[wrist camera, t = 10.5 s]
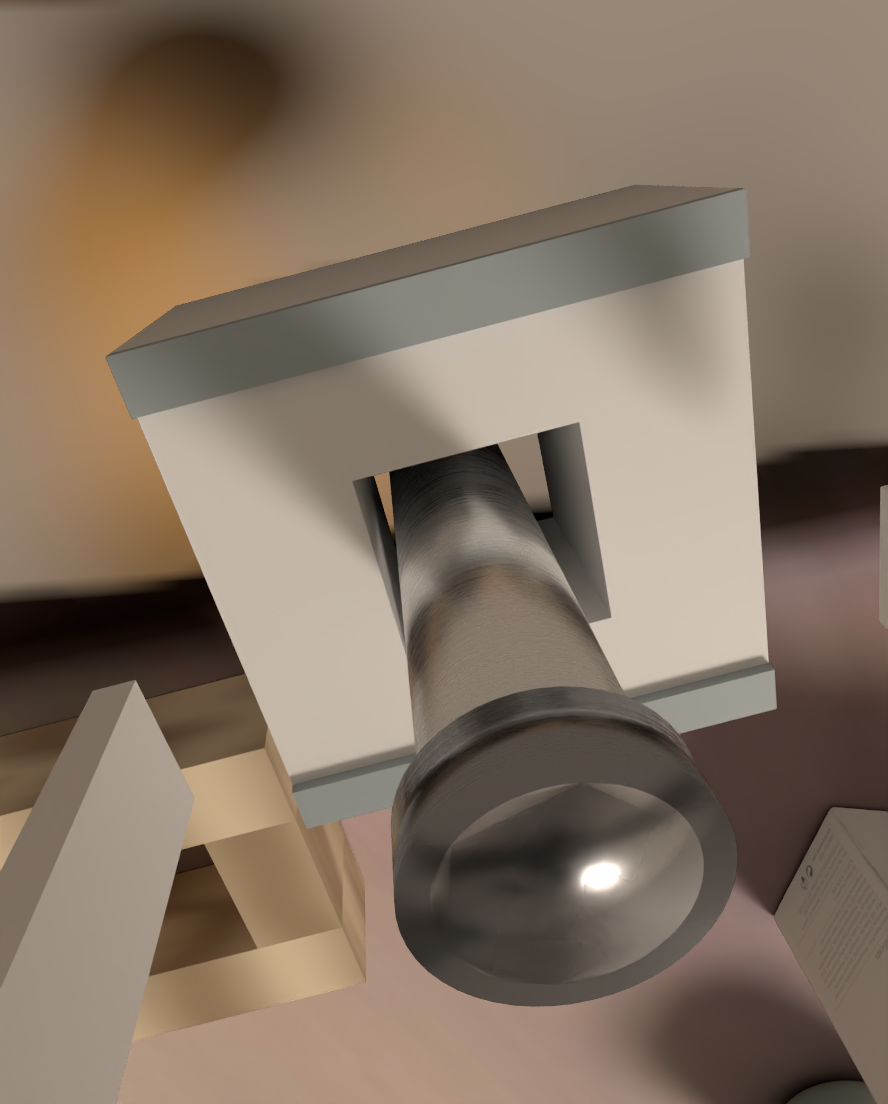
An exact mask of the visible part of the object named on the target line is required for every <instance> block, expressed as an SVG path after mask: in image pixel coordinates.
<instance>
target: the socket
mask: <svg viewBox="0 0 888 1104" xmlns="http://www.w3.org/2000/svg"><path fill="white" fill-rule="evenodd" d="M749 257H750V244H749V228H748V210H747V195H746V188H717V187H715V188H714V187H685V186H654V185H633V186H629V187H625V188H621V189H618V190H614V191H610V192H607V193H603V194H599V195H595V196H591V197H587V198H583V199H580V200H576V201H572V202H568V203H565V204H561V205H557V206H553V207H549V208H546V209H542V210H538V211H534V212H530V213H527V214H523V215H519V216H515V217H511V218H508V219H504V220H500V221H496V222H492V223H489V224H485V225H481V226H477V227H473V228H470V229H466V230H462V231H459V232H455V233H451V234H447V235H443V236H439V237H436V238H432V239H428V240H424V241H420V242H417V243H413V244H409V245H405V246H402V247H398V248H394V249H390V250H386V251H383V252H379V253H375V254H371V255H367V256H363V257H360V258H356V259H352V260H348V261H344V262H341V263H337V264H333V265H329V266H326V267H322V268H318V269H314V270H310V271H307V272H303V273H299V274H295V275H291V276H288V277H284V278H280V279H276V280H272V281H269V282H265V283H261V284H257V285H253V286H250V287H246V288H242V289H238V290H234V291H231V292H227V293H223V294H219V295H215V296H212V297H208V298H204V299H201V300H197V301H193V302H189V303H185V304H182V305H178V306H175V307H174V308H172V309H171V310H170V311H168V312H167V313H165V314H164V315H163V316H161V317H160V318H159V319H157V320H156V321H154V322H153V323H152V324H151V325H149V326H148V327H146V328H145V329H143V330H142V331H141V332H139V333H138V334H136V335H135V336H134V337H132V338H131V339H130V340H128V341H127V342H125V343H124V344H123V345H121V346H120V347H119V348H117V349H116V350H114V351H113V352H112V353H110V354H109V355H107V356H106V360H107V362H108V364H109V367H110V369H111V372H112V374H113V376H114V379H115V381H116V383H117V386H118V388H119V390H120V393H121V395H122V397H123V400H124V402H125V404H126V406H127V409H128V411H129V413H130V416H131V418H132V419H134V418H137V419H138V421H139V423H140V426H141V428H142V431H143V433H144V435H145V437H146V440H147V442H148V445H149V447H150V449H151V452H152V454H153V457H154V459H155V461H156V464H157V466H158V468H159V471H160V473H161V475H162V478H163V480H164V482H165V485H166V487H167V490H168V492H169V494H170V496H171V499H172V501H173V504H174V506H175V508H176V511H177V513H178V515H179V518H180V520H181V523H182V525H183V527H184V530H185V532H186V534H187V537H188V539H189V541H190V544H191V546H192V548H193V551H194V553H195V556H196V558H197V560H198V563H199V565H200V567H201V570H202V572H203V574H204V577H205V579H206V582H207V584H208V586H209V589H210V591H211V593H212V596H213V598H214V600H215V603H216V605H217V607H218V610H219V612H220V615H221V617H222V619H223V622H224V624H225V626H226V629H227V631H228V633H229V636H230V638H231V640H232V643H233V645H234V648H235V650H236V652H237V655H238V657H239V659H240V662H241V664H242V666H243V669H244V671H245V674H246V676H247V678H248V681H249V683H250V685H251V688H252V690H253V692H254V695H255V697H256V699H257V702H258V704H259V707H260V709H261V711H262V714H263V716H264V718H265V721H266V723H267V725H268V728H269V730H270V732H271V735H272V737H273V740H274V742H275V744H276V747H277V749H278V751H279V754H280V756H281V758H282V761H283V763H284V765H285V768H286V770H287V773H288V775H289V777H290V780H291V782H292V784H293V786H292V795H293V797H294V800H295V802H296V804H297V807H298V809H299V811H300V814H301V816H302V818H303V821H304V823H305V825H306V828H307V829H308V828H312V827H316V826H320V825H324V824H328V823H332V822H336V821H340V820H344V819H347V818H351V817H355V816H359V815H363V814H367V813H371V812H375V811H379V810H383V809H387V808H391V807H392V806H393V802H394V798H395V794H396V791H397V788H398V786H399V784H400V781H401V779H402V777H403V775H404V773H405V771H406V770H407V768H408V767H409V765H410V763H411V762H412V760H413V759H414V757H415V756H416V751H415V741H414V730H413V719H412V709H411V698H410V687H409V676H408V666H407V655H406V644H405V634H404V623H403V612H402V602H401V591H400V580H399V569H398V559H397V552H396V549H395V546H394V542H393V539H392V535H391V532H390V529H389V525H388V522H387V518H386V515H385V512H384V508H383V505H382V501H381V498H380V495H379V492H378V488H377V485H376V481H375V478H374V475H378V474H382V473H385V472H389V471H393V470H397V469H401V468H405V467H408V466H412V465H416V464H420V463H424V462H428V461H431V460H435V459H439V458H443V457H447V456H451V455H454V454H458V453H462V452H466V451H470V450H474V449H478V448H481V447H485V446H489V445H493V444H497V443H501V442H504V441H508V440H512V439H516V438H520V437H524V436H527V435H531V434H535V433H537V434H538V439H539V444H540V450H541V455H542V460H543V465H544V471H545V476H546V481H547V486H548V492H549V497H550V502H551V507H552V512H553V517H552V518H548V519H544V520H540V521H537V523H538V525H539V527H540V529H541V531H542V533H543V535H544V537H545V539H546V541H547V542H548V544H549V546H550V548H551V550H552V552H553V554H554V556H555V558H556V560H557V562H558V564H559V566H560V568H561V570H562V572H563V574H564V576H565V578H566V580H567V582H568V584H569V586H570V588H571V590H572V592H573V594H574V596H575V597H576V599H577V601H578V603H579V605H580V607H581V609H582V611H583V613H584V615H585V617H586V619H587V621H588V623H589V625H590V627H591V629H592V631H593V633H594V635H595V637H596V639H597V641H598V643H599V645H600V647H601V649H602V651H603V652H604V654H605V656H606V658H607V660H608V662H609V664H610V666H611V668H612V670H613V672H614V674H615V676H616V678H617V680H618V682H619V684H620V686H621V688H622V690H623V692H624V694H625V696H626V697H628V698H630V699H633V700H635V701H637V702H640V703H641V704H643V705H645V706H647V707H648V708H650V709H652V710H653V711H655V712H656V713H658V714H659V715H660V716H661V717H663V718H664V719H665V720H666V721H667V722H669V723H670V724H671V726H672V727H673V728H674V729H675V730H676V731H677V732H678V733H679V734H680V733H684V732H688V731H692V730H696V729H700V728H704V727H708V726H712V725H715V724H719V723H723V722H727V721H731V720H735V719H739V718H743V717H747V716H751V715H755V714H759V713H762V712H766V711H770V710H774V709H777V704H776V687H775V670H774V669H773V667H772V666H771V665H770V664H769V660H768V644H767V628H766V612H765V596H764V580H763V564H762V548H761V532H760V516H759V500H758V484H757V468H756V452H755V438H754V420H753V405H752V388H751V373H750V357H749V342H748V341H749V340H748V325H747V308H746V293H745V276H744V261H743V259H745V258H749Z"/></svg>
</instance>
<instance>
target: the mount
mask: <svg viewBox="0 0 888 1104" xmlns="http://www.w3.org/2000/svg"><path fill="white" fill-rule="evenodd" d="M146 702H147V704H148V706H149V708H150V710H151V712H152V714H153V716H154V718H155V720H156V722H157V724H158V726H159V728H160V730H161V732H162V734H163V736H164V738H165V740H166V742H167V744H168V746H169V748H170V750H171V752H172V754H173V756H174V758H175V760H176V762H177V764H178V766H179V768H180V770H181V772H182V774H183V776H184V778H185V780H186V782H187V784H188V786H189V788H190V790H191V792H192V794H193V796H194V797H195V798H194V802H193V806H192V810H191V814H190V818H189V822H188V826H187V829H186V833H185V837H184V841H183V845H182V849H186V848H190V847H193V846H197V845H201V844H204V845H205V847H206V849H207V851H208V852H209V854H210V856H211V858H212V860H213V862H214V865H210V866H206V867H202V868H198V869H194V870H190V871H186V872H183V873H179V874H175V876H174V880H173V884H172V887H171V891H170V895H169V899H168V903H167V907H166V911H165V915H164V918H163V922H162V926H161V930H160V934H159V938H158V942H157V946H156V949H155V953H154V957H153V961H152V965H151V969H150V973H149V977H148V980H147V984H146V988H145V992H144V996H143V1000H142V1004H141V1008H140V1011H139V1015H138V1019H137V1023H136V1027H135V1031H134V1035H133V1039H132V1042H133V1041H136V1040H140V1039H144V1038H148V1037H152V1036H156V1035H160V1034H164V1033H168V1032H172V1031H176V1030H180V1029H184V1028H188V1027H192V1026H196V1025H200V1024H204V1023H208V1022H212V1021H216V1020H220V1019H223V1018H227V1017H231V1016H235V1015H239V1014H243V1013H247V1012H251V1011H255V1010H259V1009H263V1008H267V1007H271V1006H275V1005H279V1004H283V1003H287V1002H291V1001H295V1000H299V999H303V998H306V997H310V996H314V995H318V994H322V993H326V992H330V991H334V990H338V989H342V988H346V987H350V986H354V985H358V984H362V983H366V947H365V883H364V880H363V878H362V875H361V873H360V870H359V868H358V865H357V863H356V860H355V858H354V855H353V853H352V850H351V848H350V845H349V843H348V840H347V838H346V835H345V833H344V830H343V828H342V825H341V823H340V821H336V822H332V823H328V824H324V825H320V826H316V827H312V828H308V829H307V828H306V825H305V823H304V821H303V818H302V816H301V814H300V811H299V809H298V807H297V804H296V802H295V800H294V797H293V795H292V786H293V784H292V782H291V780H290V777H289V775H288V773H287V770H286V768H285V765H284V763H283V761H282V758H281V756H280V754H279V751H278V749H277V747H276V744H275V742H274V740H273V737H272V735H271V732H270V730H269V728H268V725H267V723H266V721H265V718H264V716H263V714H262V711H261V709H260V707H259V704H258V702H257V699H256V697H255V695H254V692H253V690H252V688H251V685H250V683H249V681H248V678H247V676H246V674H243V675H239V676H235V677H231V678H227V679H223V680H219V681H216V682H212V683H208V684H204V685H200V686H196V687H192V688H188V689H185V690H181V691H177V692H173V693H169V694H165V695H161V696H157V697H154V698H150V699H146ZM78 718H79V717H76V718H72V719H68V720H64V721H61V722H57V723H53V724H49V725H45V726H41V727H37V728H33V729H30V730H26V731H22V732H18V733H14V734H10V735H6V736H2V737H0V871H1V869H2V867H3V865H4V863H5V861H6V859H7V857H8V855H9V853H10V851H11V850H12V848H13V846H14V844H15V842H16V840H17V838H18V836H19V834H20V832H21V830H22V828H23V826H24V824H25V822H26V820H27V818H28V816H29V814H30V812H31V810H32V808H33V806H34V805H35V803H36V801H37V799H38V797H39V795H40V793H41V791H42V789H43V787H44V785H45V783H46V781H47V779H48V777H49V775H50V773H51V771H52V769H53V767H54V765H55V763H56V761H57V759H58V758H59V756H60V754H61V752H62V750H63V748H64V746H65V744H66V742H67V740H68V738H69V736H70V734H71V732H72V730H73V728H74V726H75V724H76V722H77V720H78ZM182 849H181V850H182Z"/></svg>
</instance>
